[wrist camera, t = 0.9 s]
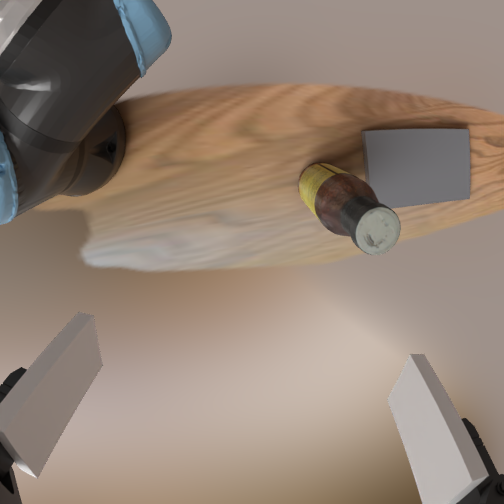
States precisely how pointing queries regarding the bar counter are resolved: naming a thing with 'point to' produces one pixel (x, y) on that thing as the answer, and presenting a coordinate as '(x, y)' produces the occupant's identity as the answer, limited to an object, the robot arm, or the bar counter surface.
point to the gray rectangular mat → (417, 165)
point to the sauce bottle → (349, 207)
